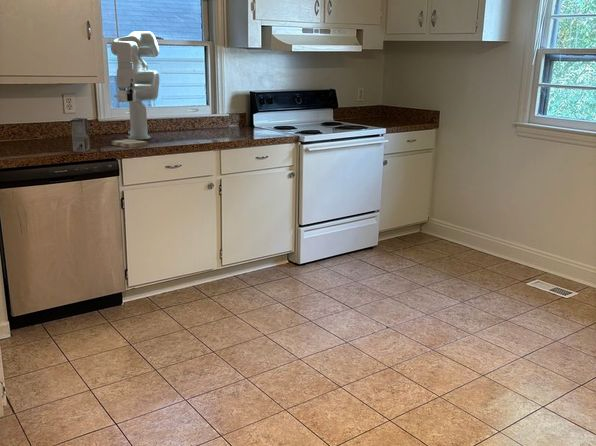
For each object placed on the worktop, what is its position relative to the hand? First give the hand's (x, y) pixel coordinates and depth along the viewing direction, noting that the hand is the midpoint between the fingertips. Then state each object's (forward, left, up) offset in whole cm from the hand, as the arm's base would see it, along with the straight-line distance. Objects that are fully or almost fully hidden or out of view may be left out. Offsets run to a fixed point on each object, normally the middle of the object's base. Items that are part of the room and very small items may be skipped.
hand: (127, 100), depth 326 cm
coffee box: (-3, -28, -25) cm, 37 cm away
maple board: (0, 0, -24) cm, 24 cm away
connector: (0, 0, -1) cm, 1 cm away
